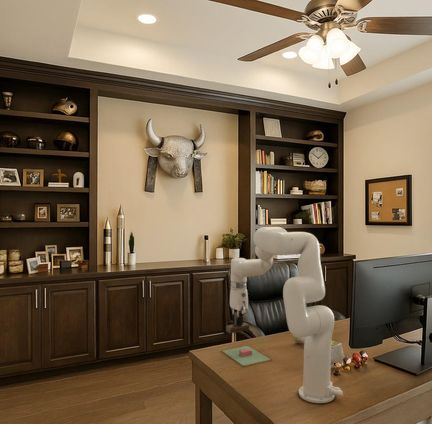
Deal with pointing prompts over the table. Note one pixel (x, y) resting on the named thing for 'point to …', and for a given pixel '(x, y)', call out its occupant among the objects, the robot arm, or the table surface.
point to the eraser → (245, 352)
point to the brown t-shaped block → (236, 328)
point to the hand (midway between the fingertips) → (237, 323)
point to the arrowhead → (337, 355)
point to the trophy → (300, 340)
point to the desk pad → (246, 360)
